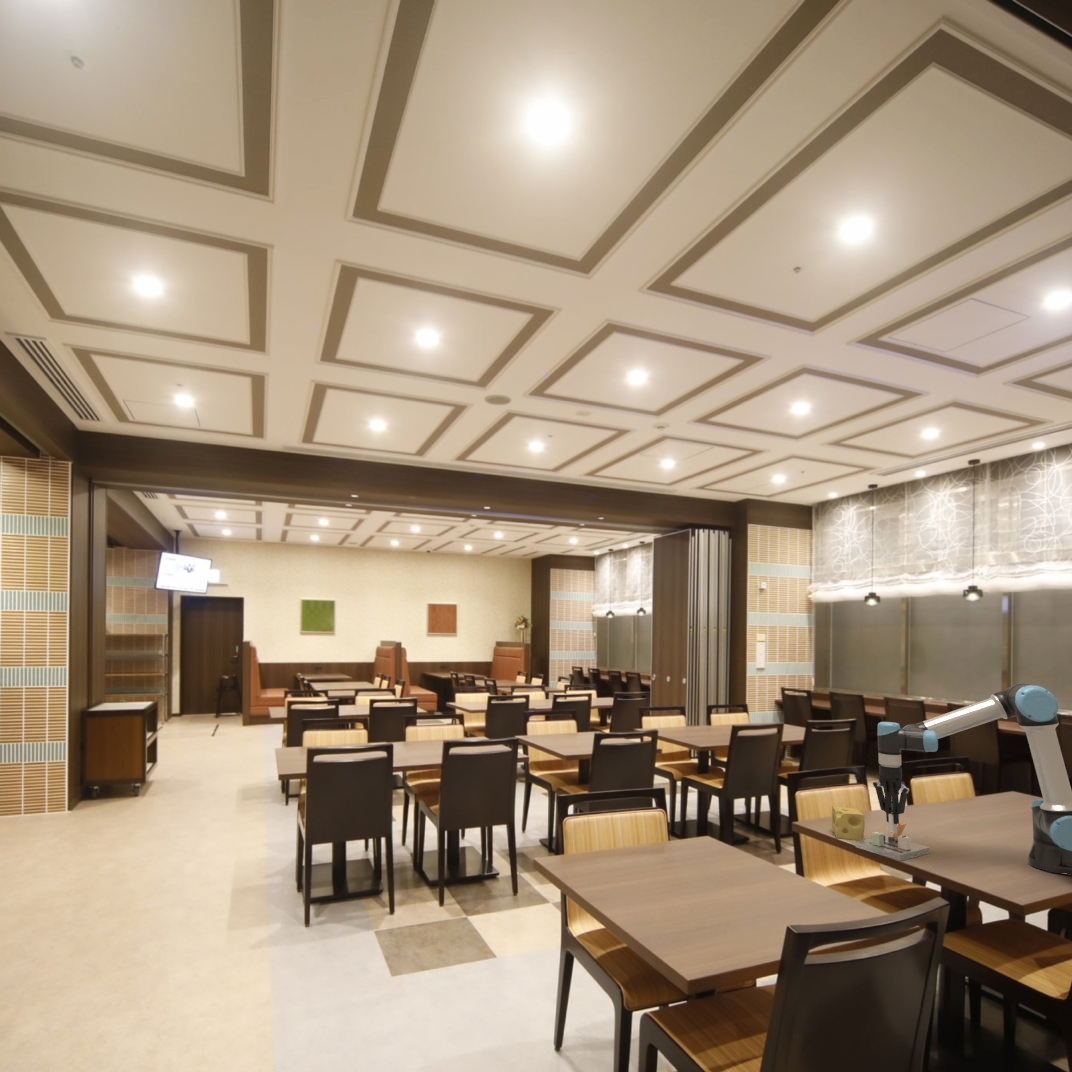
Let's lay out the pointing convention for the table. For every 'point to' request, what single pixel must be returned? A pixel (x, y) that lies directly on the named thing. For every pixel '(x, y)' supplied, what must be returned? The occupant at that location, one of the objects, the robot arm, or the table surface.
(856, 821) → the cheese
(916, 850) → the panel
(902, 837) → the slider ivory
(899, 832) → the lever orange
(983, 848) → the table surface
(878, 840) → the slider sage
